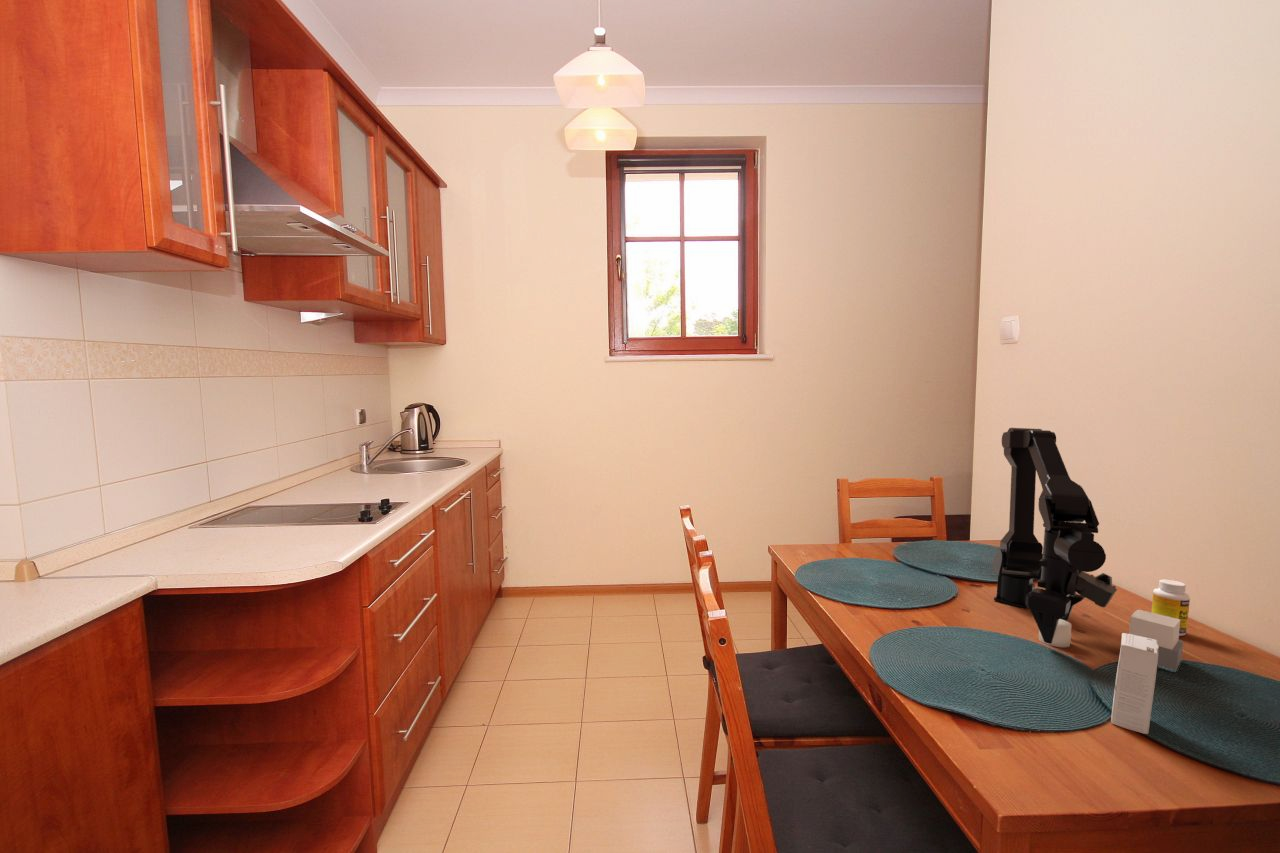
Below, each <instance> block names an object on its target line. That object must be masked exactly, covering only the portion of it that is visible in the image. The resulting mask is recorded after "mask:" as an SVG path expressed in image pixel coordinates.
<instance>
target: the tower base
mask: <svg viewBox="0 0 1280 853" xmlns="http://www.w3.org/2000/svg"><path fill="white" fill-rule="evenodd" d="M1183 647H1184V641H1183V640H1180V639H1179V640H1178V642H1177V644H1176V645H1175V647H1174V648H1173V650H1171V649H1167V648H1163V647H1159V648H1158V663H1157V665H1159V666H1164V667H1167V668H1172V669H1174V670H1177V667H1178V665H1179V662H1180V661H1181V660H1182V658H1183ZM1181 662H1182V661H1181ZM1177 671H1178V670H1177Z"/></svg>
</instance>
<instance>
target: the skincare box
mask: <svg viewBox="0 0 1280 853" xmlns="http://www.w3.org/2000/svg"><path fill="white" fill-rule="evenodd" d="M1158 648H1159V646H1158V641H1157V640H1155V639H1151V638H1146V637H1141V636H1137V635H1132V634H1129V633H1125V632H1122V633H1121V640H1120V651H1119V657H1118V662H1117V663H1118V664H1117V669H1116V676H1115V681H1114V682H1115V683H1114V690H1113V701H1112V708H1111V717H1110V722H1111V724H1113V725H1115V726H1118V727H1121V728H1124V729H1127V730H1130V731H1133V732H1137V733H1141V734H1144V735H1149V731H1150V725H1151V715H1152V707H1153V701H1154V694H1155V686H1156V679H1157V678H1156V677H1157V670H1158V668H1157V663H1158Z"/></svg>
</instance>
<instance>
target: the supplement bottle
mask: <svg viewBox="0 0 1280 853" xmlns="http://www.w3.org/2000/svg"><path fill="white" fill-rule="evenodd" d="M1158 583H1159V584H1158V587H1157V588H1154V589H1153V592H1152V599H1151V600H1152V603H1151V611H1150V612H1151V613H1155V614H1160V615H1164V616H1168V617H1172V618H1177V619H1180V628H1179V637H1183V636H1185V635H1186V634H1187V630H1188V620H1189V611H1190V610H1189V609H1190V599H1191V597H1190V595H1189V594H1187V593H1186V586H1187V585H1186V583H1183V582H1181V581H1178V580H1177V581H1176V580H1171V579H1159V582H1158Z"/></svg>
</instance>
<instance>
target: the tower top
mask: <svg viewBox="0 0 1280 853" xmlns="http://www.w3.org/2000/svg"><path fill="white" fill-rule="evenodd" d="M1179 628H1180V619H1177V618H1172V617H1168V616H1164V615H1160V614H1155V613H1151V611H1147V610H1141V609H1138V608H1137V609H1136V610H1135V611H1134V612H1133V613H1132V614H1131V615H1130V617H1129V627H1128V634H1132V635H1137V636H1141V637H1146V638H1151V639H1155V640H1157V641H1158V646H1159V647H1163V648H1167V649H1171V650H1173V648H1174V647H1175V645H1176V644H1177V642H1178V640H1180V639H1179V638H1180V636H1179Z"/></svg>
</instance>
